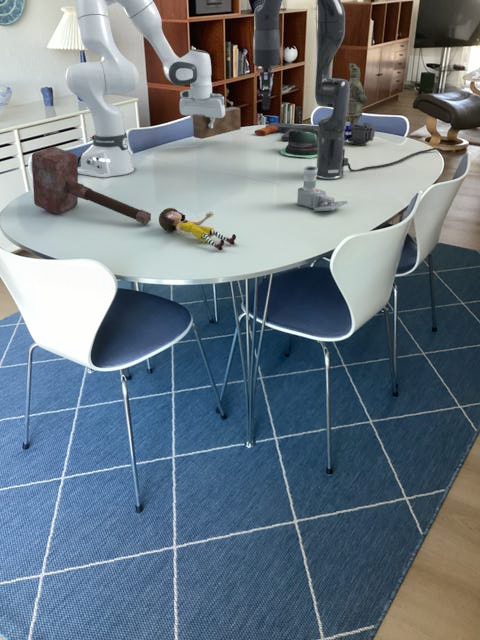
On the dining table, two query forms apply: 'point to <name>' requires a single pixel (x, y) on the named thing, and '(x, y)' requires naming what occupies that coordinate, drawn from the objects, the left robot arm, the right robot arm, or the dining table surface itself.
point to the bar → (217, 124)
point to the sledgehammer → (69, 186)
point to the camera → (315, 193)
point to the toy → (359, 133)
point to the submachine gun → (282, 129)
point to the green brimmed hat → (302, 143)
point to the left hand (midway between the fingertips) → (203, 127)
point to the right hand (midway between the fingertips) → (266, 107)
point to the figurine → (191, 227)
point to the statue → (355, 96)
